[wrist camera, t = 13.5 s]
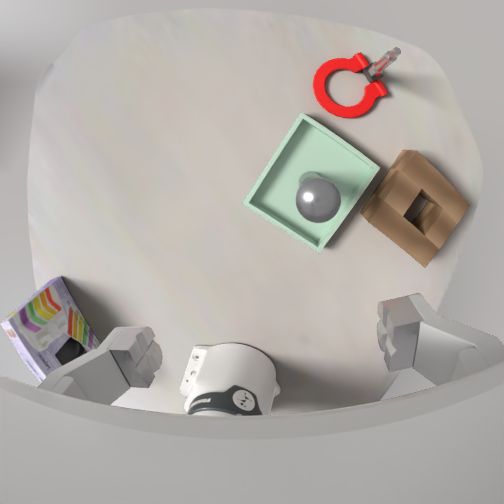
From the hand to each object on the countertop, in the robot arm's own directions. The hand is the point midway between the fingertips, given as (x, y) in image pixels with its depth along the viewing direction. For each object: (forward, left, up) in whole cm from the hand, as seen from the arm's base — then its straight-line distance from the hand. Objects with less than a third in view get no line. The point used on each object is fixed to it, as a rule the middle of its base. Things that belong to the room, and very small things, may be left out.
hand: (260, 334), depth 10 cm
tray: (+3, -2, -31) cm, 31 cm away
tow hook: (+17, +1, -31) cm, 35 cm away
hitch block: (+9, -16, -31) cm, 36 cm away
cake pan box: (-45, +23, -31) cm, 59 cm away
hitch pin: (+3, -2, -30) cm, 30 cm away
